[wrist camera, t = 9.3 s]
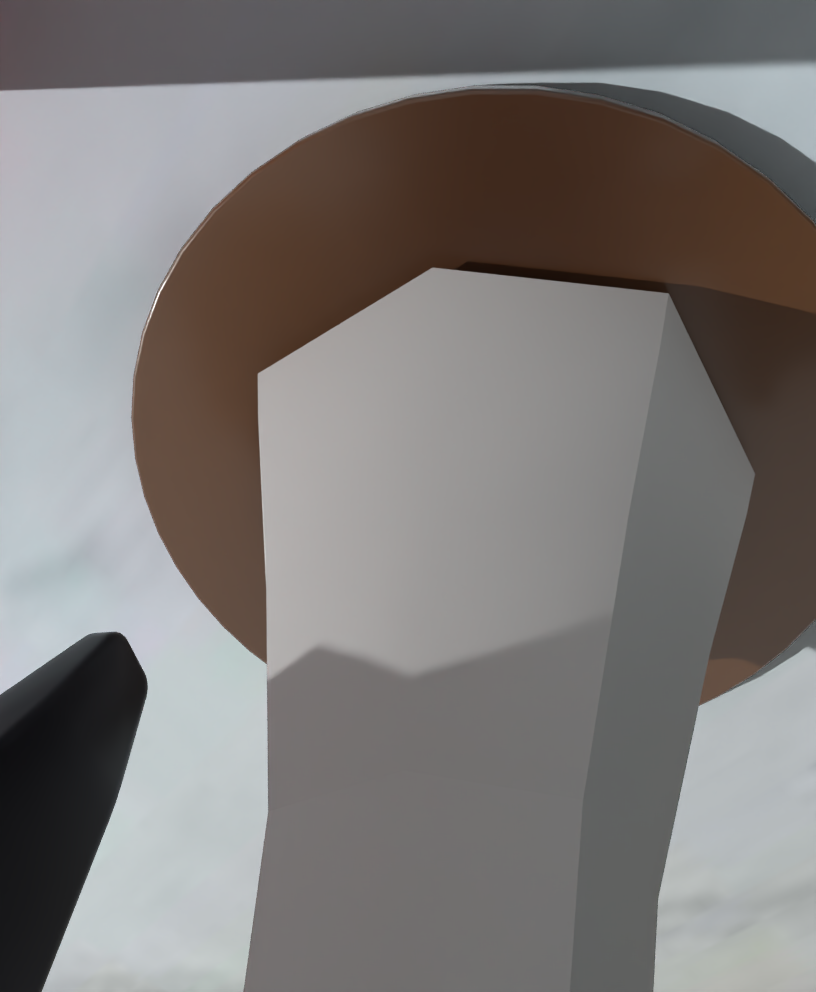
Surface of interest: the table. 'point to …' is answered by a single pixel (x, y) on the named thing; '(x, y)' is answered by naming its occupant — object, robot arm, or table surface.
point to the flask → (485, 634)
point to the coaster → (493, 250)
